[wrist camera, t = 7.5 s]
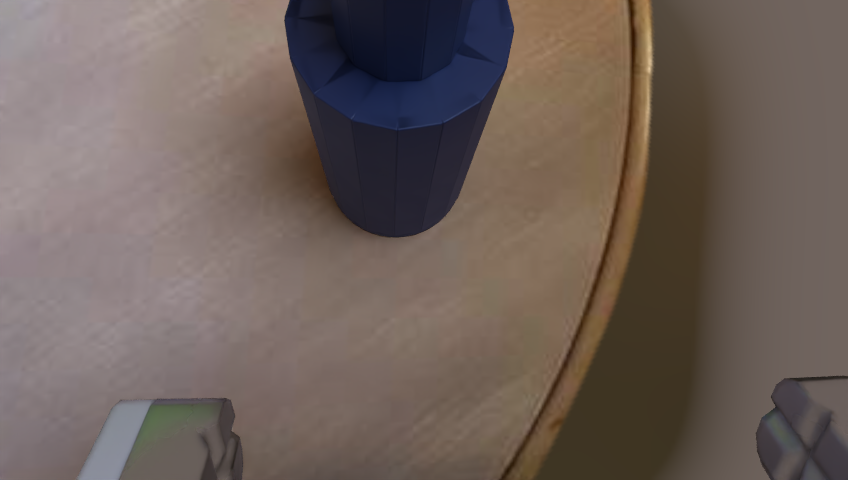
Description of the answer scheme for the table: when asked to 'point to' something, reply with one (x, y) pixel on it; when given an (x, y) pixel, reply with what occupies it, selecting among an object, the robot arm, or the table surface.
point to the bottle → (397, 99)
